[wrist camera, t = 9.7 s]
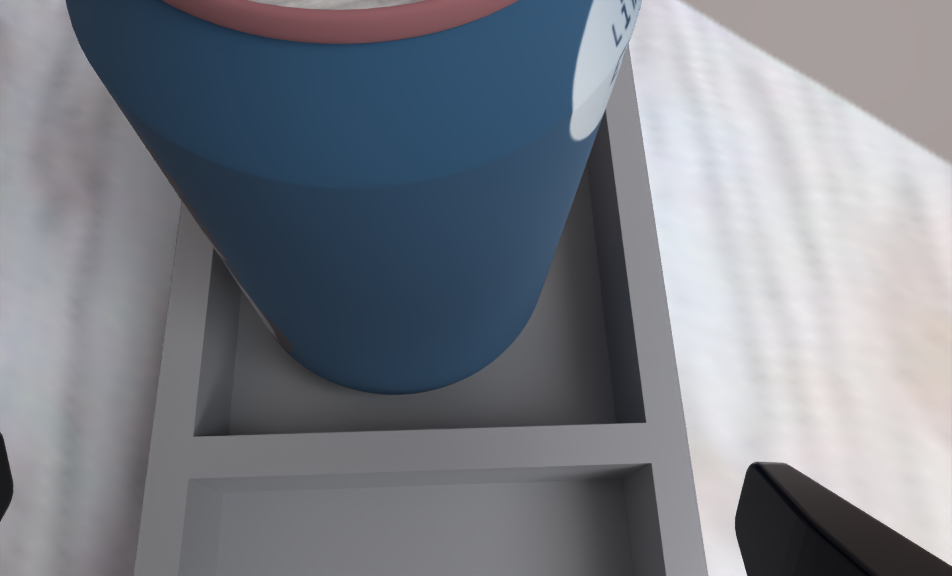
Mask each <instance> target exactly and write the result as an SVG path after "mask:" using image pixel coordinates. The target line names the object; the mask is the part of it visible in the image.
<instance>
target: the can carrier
mask: <svg viewBox="0 0 952 576" xmlns="http://www.w3.org/2000/svg"><path fill="white" fill-rule="evenodd" d="M133 576H708V571H707V565H706V558H705V551H704V545H703V538H702V531H701V525H700V518H699V511H698V505H697V498H696V491H695V485H694V478H693V471H692V465H691V458H690V451H689V445H688V438H687V431H686V425H685V418H684V411H683V405H682V398H681V391H680V385H679V378H678V371H677V365H676V358H675V351H674V345H673V338H672V331H671V325H670V318H669V311H668V305H667V298H666V291H665V285H664V278H663V271H662V265H661V258H660V251H659V245H658V238H657V231H656V225H655V218H654V211H653V205H652V198H651V191H650V185H649V178H648V171H647V165H646V158H645V151H644V145H643V138H642V131H641V125H640V118H639V111H638V105H637V98H636V91H635V85H634V78H633V71H632V65H631V58H630V51H629V45H628V47H627V50H626V52H625V55H624V58H623V61H622V64H621V67H620V69H619V72H618V75H617V78H616V81H615V84H614V86H613V89H612V92H611V95H610V98H609V101H608V104H607V106H606V109H605V112H604V115H603V118H602V121H601V123H600V126H599V129H598V132H597V135H596V138H595V140H594V143H593V146H592V149H591V152H590V155H589V157H588V160H587V163H586V166H585V169H584V172H583V175H582V177H581V180H580V183H579V186H578V189H577V192H576V194H575V197H574V200H573V203H572V206H571V209H570V211H569V214H568V217H567V220H566V223H565V226H564V228H563V231H562V234H561V237H560V240H559V243H558V246H557V248H556V251H555V254H554V257H553V260H552V263H551V265H550V268H549V271H548V274H547V277H546V280H545V282H544V285H543V288H542V291H541V294H540V297H539V299H538V302H537V304H536V307H535V309H534V311H533V313H532V315H531V317H530V319H529V321H528V322H527V324H526V326H525V327H524V329H523V330H522V332H521V333H520V334H519V336H518V337H517V338H516V339H515V341H514V342H513V343H512V344H511V345H510V346H509V347H508V348H507V349H506V350H505V351H504V352H503V353H502V354H501V355H500V356H499V357H498V358H496V359H495V360H494V361H493V362H492V363H490V364H489V365H487V366H486V367H485V368H483V369H482V370H480V371H478V372H477V373H475V374H473V375H472V376H470V377H468V378H465V379H463V380H461V381H459V382H457V383H454V384H452V385H449V386H446V387H443V388H440V389H436V390H432V391H427V392H422V393H415V394H404V395H385V394H374V393H368V392H362V391H358V390H354V389H350V388H347V387H344V386H341V385H338V384H335V383H333V382H331V381H328V380H326V379H324V378H322V377H320V376H318V375H317V374H315V373H313V372H312V371H310V370H309V369H307V368H305V367H304V366H303V365H301V364H300V363H299V362H297V361H296V360H295V359H294V358H293V357H292V356H291V355H289V354H288V353H287V352H286V351H285V350H284V349H283V348H282V346H281V345H280V344H279V343H278V342H277V341H276V339H275V338H274V337H273V336H272V334H271V333H270V331H269V330H268V328H267V327H266V325H265V324H264V322H263V321H262V319H261V318H260V316H259V315H258V313H257V312H256V310H255V309H254V307H253V306H252V304H251V303H250V301H249V300H248V298H247V297H246V295H245V294H244V292H243V291H242V289H241V288H240V286H239V285H238V283H237V282H236V280H235V279H234V277H233V276H232V274H231V273H230V271H229V270H228V268H227V267H226V265H225V264H224V262H223V261H222V259H221V258H220V256H219V255H218V254H217V252H216V251H215V249H214V248H213V246H212V245H211V243H210V242H209V240H208V239H207V237H206V236H205V234H204V233H203V231H202V230H201V228H200V227H199V225H198V224H197V222H196V221H195V219H194V218H193V216H192V215H191V213H190V212H189V210H188V209H187V207H186V206H185V204H184V203H183V201H182V202H181V210H180V218H179V225H178V233H177V241H176V249H175V256H174V264H173V272H172V280H171V287H170V295H169V303H168V311H167V318H166V326H165V334H164V342H163V349H162V357H161V365H160V373H159V381H158V388H157V396H156V404H155V412H154V419H153V427H152V435H151V443H150V450H149V458H148V466H147V474H146V481H145V489H144V497H143V505H142V512H141V520H140V528H139V536H138V543H137V551H136V559H135V567H134V574H133Z"/></svg>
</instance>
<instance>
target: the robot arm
mask: <svg viewBox="0 0 952 576" xmlns="http://www.w3.org/2000/svg"><path fill="white" fill-rule="evenodd" d="M12 495H13V479H12V475H11V470H10V466H9V461H8V456H7V452H6V447H5V443H4V439H3V436H2V434H1V432H0V521H1V519H2V518H3V516H4V514H5V512H6V510H7V509H8V507H9V504H10V502H11V499H12ZM735 530H736V536H737V540H738V544H739V547H740V551H741V555H742V558H743V562H744V565H745V569H746V573H747V576H952V566H951V565H949V564H947V563H946V562H944V561H943V560H941V559H939V558H938V557H936V556H934V555H933V554H931V553H930V552H928V551H926V550H925V549H923V548H922V547H920V546H918V545H917V544H915V543H914V542H912V541H910V540H909V539H907V538H905V537H904V536H902V535H901V534H899V533H897V532H896V531H894V530H893V529H891V528H889V527H888V526H886V525H885V524H883V523H881V522H880V521H878V520H877V519H875V518H873V517H872V516H870V515H869V514H867V513H865V512H864V511H862V510H860V509H859V508H857V507H856V506H854V505H852V504H851V503H849V502H848V501H846V500H844V499H843V498H841V497H840V496H838V495H836V494H835V493H833V492H832V491H830V490H828V489H827V488H825V487H823V486H822V485H820V484H819V483H817V482H815V481H814V480H812V479H811V478H809V477H807V476H806V475H804V474H803V473H801V472H799V471H798V470H796V469H795V468H793V467H791V466H790V465H788V464H785V463H778V462H754V463H752V464H751V465H750V466H749V467H748V469H747V472H746V475H745V479H744V483H743V487H742V491H741V495H740V499H739V503H738V508H737V512H736V517H735Z"/></svg>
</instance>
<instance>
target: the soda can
mask: <svg viewBox="0 0 952 576" xmlns="http://www.w3.org/2000/svg"><path fill="white" fill-rule="evenodd" d="M641 1H642V0H66V4H67V9H68V12H69V16H70V19H71V23H72V26H73V29H74V31H75V34H76V36H77V39H78V41H79V44H80V46H81V48H82V50H83V52H84V53H85V55H86V57H87V59H88V61H89V63H90V64H91V66H92V67H93V69H94V70H95V72H96V73H97V75H98V76H99V78H100V79H101V81H102V82H103V84H104V85H105V87H106V88H107V90H108V91H109V93H110V94H111V95H112V97H113V98H114V100H115V101H116V103H117V104H118V106H119V107H120V109H121V110H122V112H123V113H124V115H125V116H126V118H127V119H128V121H129V122H130V124H131V125H132V127H133V128H134V130H135V131H136V133H137V134H138V136H139V137H140V139H141V140H142V142H143V143H144V145H145V146H146V148H147V149H148V151H149V152H150V154H151V155H152V157H153V158H154V160H155V161H156V163H157V164H158V166H159V167H160V169H161V170H162V172H163V173H164V175H165V176H166V177H167V179H168V180H169V182H170V183H171V185H172V186H173V188H174V189H175V191H176V192H177V194H178V195H179V197H180V198H181V200H182V201H183V203H184V204H185V206H186V207H187V209H188V210H189V212H190V213H191V215H192V216H193V218H194V219H195V221H196V222H197V224H198V225H199V227H200V228H201V230H202V231H203V233H204V234H205V236H206V237H207V239H208V240H209V242H210V243H211V245H212V246H213V248H214V249H215V251H216V252H217V254H218V255H219V256H220V258H221V259H222V261H223V262H224V264H225V265H226V267H227V268H228V270H229V271H230V273H231V274H232V276H233V277H234V279H235V280H236V282H237V283H238V285H239V286H240V288H241V289H242V291H243V292H244V294H245V295H246V297H247V298H248V300H249V301H250V303H251V304H252V306H253V307H254V309H255V310H256V312H257V313H258V315H259V316H260V318H261V319H262V321H263V322H264V324H265V325H266V327H267V328H268V330H269V331H270V333H271V334H272V336H273V337H274V338H275V339H276V341H277V342H278V343H279V344H280V345H281V346H282V348H283V349H284V350H285V351H286V352H287V353H288V354H289V355H291V356H292V357H293V358H294V359H295V360H296V361H297V362H299V363H300V364H301V365H303V366H304V367H305V368H307V369H309V370H310V371H312V372H313V373H315V374H317V375H318V376H320V377H322V378H324V379H326V380H328V381H331V382H333V383H335V384H338V385H341V386H344V387H347V388H350V389H354V390H358V391H362V392H368V393H374V394H385V395H404V394H415V393H422V392H427V391H432V390H436V389H440V388H443V387H446V386H449V385H452V384H454V383H457V382H459V381H461V380H463V379H465V378H468V377H470V376H472V375H473V374H475V373H477V372H478V371H480V370H482V369H483V368H485V367H486V366H487V365H489V364H490V363H492V362H493V361H494V360H495V359H496V358H498V357H499V356H500V355H501V354H502V353H503V352H504V351H505V350H506V349H507V348H508V347H509V346H510V345H511V344H512V343H513V342H514V341H515V339H516V338H517V337H518V336H519V334H520V333H521V332H522V330H523V329H524V327H525V326H526V324H527V322H528V321H529V319H530V317H531V315H532V313H533V311H534V309H535V307H536V304H537V302H538V299H539V297H540V294H541V291H542V288H543V285H544V282H545V280H546V277H547V274H548V271H549V268H550V265H551V263H552V260H553V257H554V254H555V251H556V248H557V246H558V243H559V240H560V237H561V234H562V231H563V228H564V226H565V223H566V220H567V217H568V214H569V211H570V209H571V206H572V203H573V200H574V197H575V194H576V192H577V189H578V186H579V183H580V180H581V177H582V175H583V172H584V169H585V166H586V163H587V160H588V157H589V155H590V152H591V149H592V146H593V143H594V140H595V138H596V135H597V132H598V129H599V126H600V123H601V121H602V118H603V115H604V112H605V109H606V106H607V104H608V101H609V98H610V95H611V92H612V89H613V86H614V84H615V81H616V78H617V75H618V72H619V69H620V67H621V64H622V61H623V58H624V55H625V52H626V50H627V47H628V44H629V41H630V38H631V35H632V32H633V30H634V27H635V24H636V20H637V17H638V14H639V10H640V6H641Z"/></svg>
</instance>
